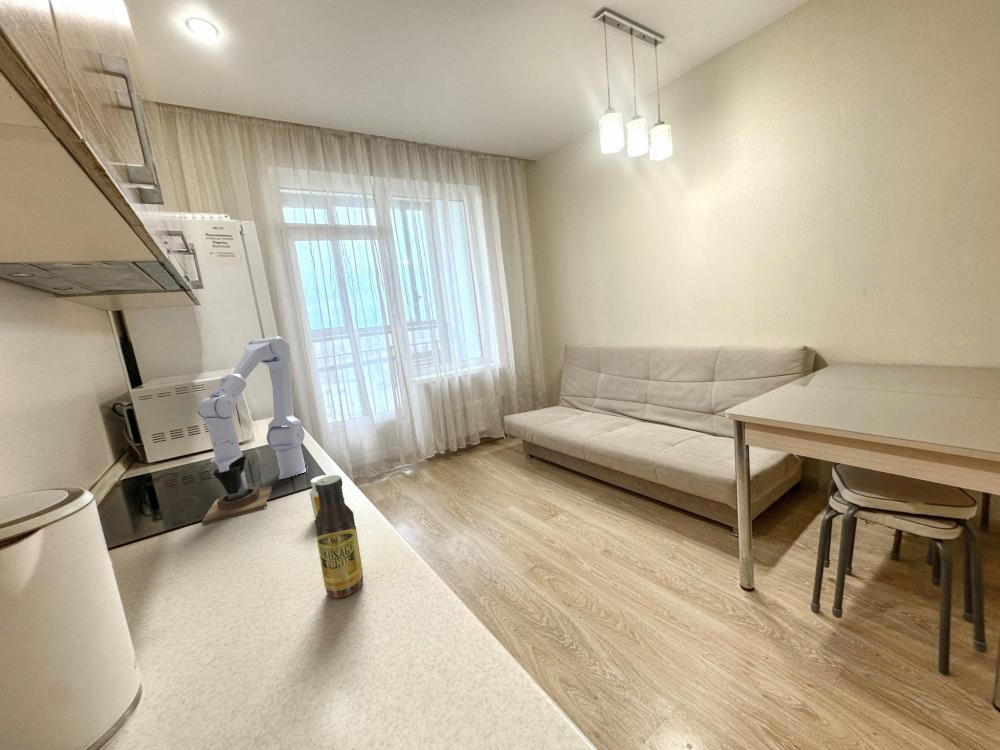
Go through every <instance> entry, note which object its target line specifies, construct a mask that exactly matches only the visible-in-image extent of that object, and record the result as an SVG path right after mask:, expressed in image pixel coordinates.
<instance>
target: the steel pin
mask: <svg viewBox="0 0 1000 750" xmlns="http://www.w3.org/2000/svg"><path fill="white" fill-rule="evenodd" d="M238 485H239V490H238V493H234V494H230V495H229V494H228V493H227V492H226V494H227V495H228V499H229V502H230V501H233V500H237V499H241V498H244V497H246V496H248V495H249V494H250V493H249V489H248V487H249V486H248V481H247V477H246V472H245V469H244V470H241V471H239V473H238Z"/></svg>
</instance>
